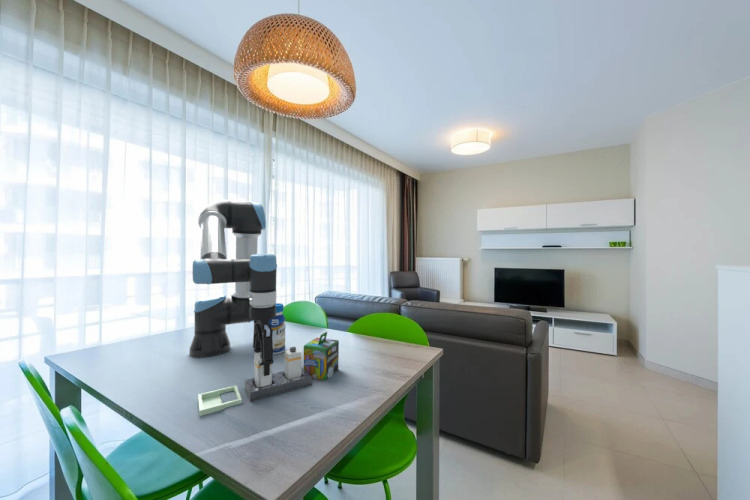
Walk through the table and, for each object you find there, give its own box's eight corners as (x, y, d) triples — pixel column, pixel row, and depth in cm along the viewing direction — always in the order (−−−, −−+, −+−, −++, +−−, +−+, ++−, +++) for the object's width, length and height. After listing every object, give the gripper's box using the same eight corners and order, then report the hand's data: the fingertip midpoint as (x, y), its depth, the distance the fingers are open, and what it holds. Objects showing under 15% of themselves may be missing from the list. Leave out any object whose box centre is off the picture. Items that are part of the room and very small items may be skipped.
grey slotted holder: (244, 391, 87) (244, 380, 87) (301, 377, 97) (301, 366, 97) (250, 405, 79) (250, 392, 79) (311, 387, 89) (311, 376, 89)
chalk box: (316, 368, 104) (316, 328, 104) (339, 372, 101) (339, 330, 101) (302, 379, 95) (302, 335, 95) (326, 383, 92) (326, 338, 92)
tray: (198, 401, 81) (198, 394, 81) (236, 391, 87) (236, 385, 87) (199, 418, 73) (199, 410, 73) (242, 406, 79) (241, 399, 79)
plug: (254, 389, 86) (254, 352, 86) (268, 386, 88) (268, 350, 88) (257, 395, 83) (257, 356, 83) (272, 391, 85) (272, 354, 85)
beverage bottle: (270, 347, 126) (270, 302, 126) (288, 348, 125) (288, 303, 125) (260, 354, 118) (260, 306, 118) (279, 355, 117) (279, 306, 117)
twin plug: (284, 382, 91) (284, 347, 91) (297, 378, 93) (297, 344, 93) (288, 387, 88) (288, 350, 88) (301, 383, 90) (301, 348, 90)
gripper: (243, 299, 93) (242, 368, 94) (257, 314, 75) (256, 398, 76) (267, 297, 97) (266, 363, 98) (285, 311, 79) (284, 391, 80)
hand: (262, 378), depth 87 cm, fingers open, 8 cm apart
